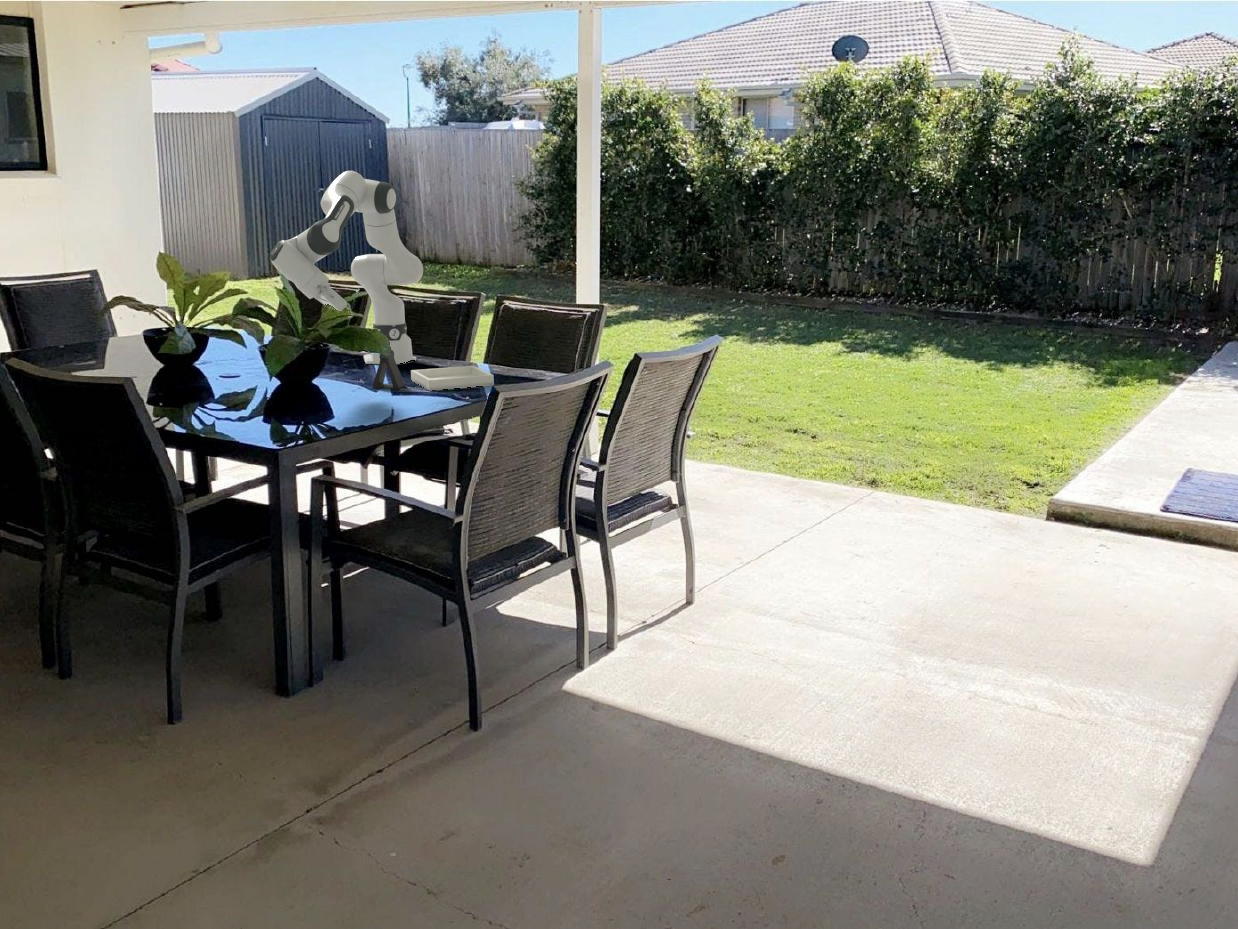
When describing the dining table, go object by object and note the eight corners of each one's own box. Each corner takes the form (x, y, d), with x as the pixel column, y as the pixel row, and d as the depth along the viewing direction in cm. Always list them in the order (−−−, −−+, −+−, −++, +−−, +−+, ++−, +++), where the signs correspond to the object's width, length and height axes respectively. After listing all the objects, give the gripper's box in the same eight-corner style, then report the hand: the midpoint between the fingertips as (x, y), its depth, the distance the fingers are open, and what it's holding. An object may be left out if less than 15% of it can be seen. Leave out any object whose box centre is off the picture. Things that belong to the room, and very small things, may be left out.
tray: (411, 380, 389) (410, 370, 388) (473, 375, 398) (473, 365, 397) (429, 391, 372) (428, 380, 371) (493, 385, 381) (493, 375, 380)
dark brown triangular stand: (404, 385, 380) (403, 349, 377) (398, 389, 374) (397, 352, 371) (378, 385, 381) (376, 348, 378) (372, 388, 375) (370, 351, 372)
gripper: (329, 279, 351) (363, 310, 358) (314, 274, 369) (346, 304, 375) (315, 295, 350) (349, 325, 357) (301, 289, 368) (333, 318, 374)
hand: (347, 314), depth 366 cm, fingers open, 8 cm apart
